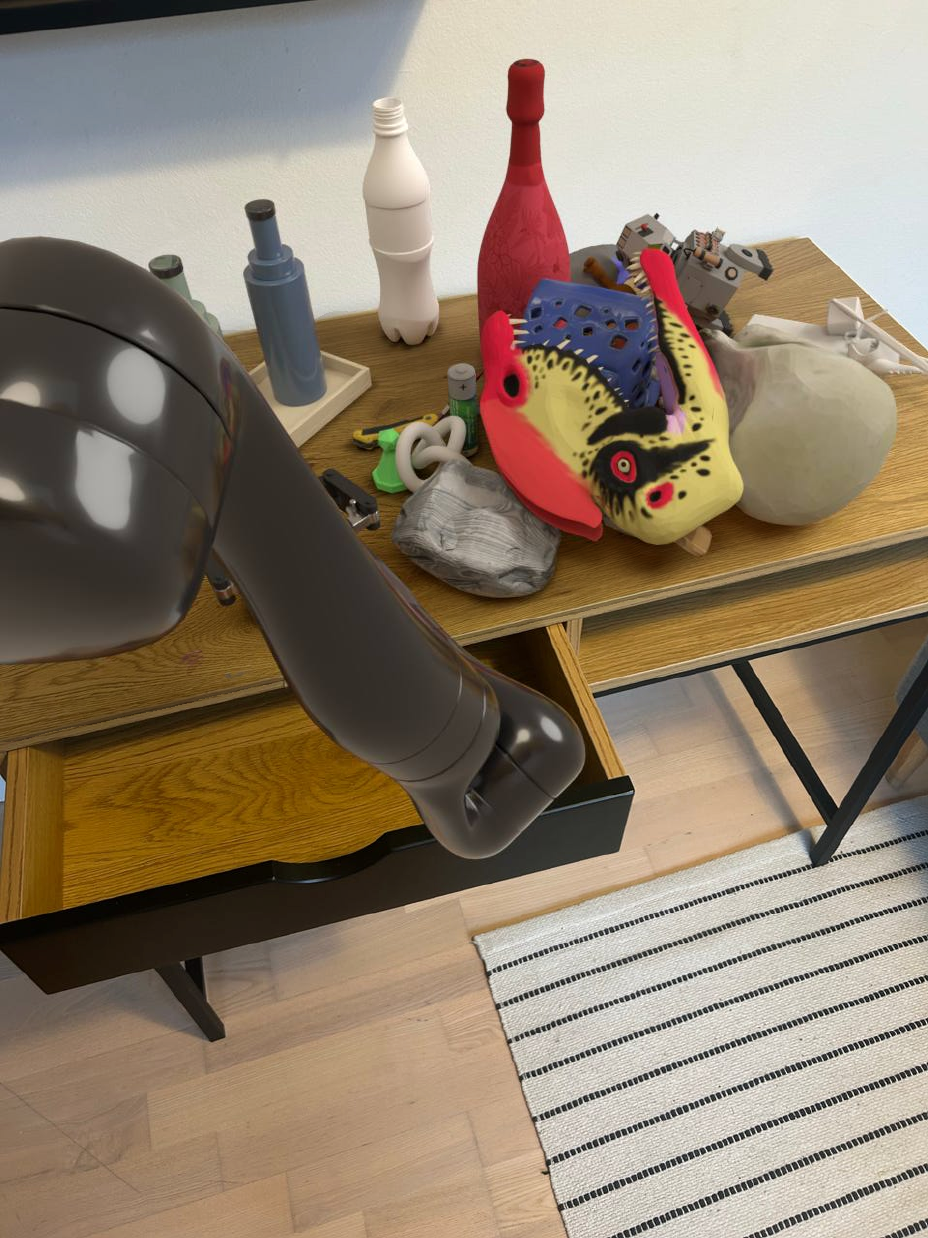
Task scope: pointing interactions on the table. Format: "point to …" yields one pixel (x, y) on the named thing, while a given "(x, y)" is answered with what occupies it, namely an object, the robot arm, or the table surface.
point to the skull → (799, 423)
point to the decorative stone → (476, 533)
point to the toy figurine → (605, 279)
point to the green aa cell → (447, 408)
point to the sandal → (690, 542)
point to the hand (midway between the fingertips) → (239, 482)
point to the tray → (307, 420)
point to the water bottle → (400, 228)
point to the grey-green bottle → (180, 284)
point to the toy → (612, 427)
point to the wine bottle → (521, 212)
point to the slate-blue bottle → (282, 311)
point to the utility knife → (371, 435)
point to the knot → (428, 448)
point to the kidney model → (605, 260)
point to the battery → (464, 403)
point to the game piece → (388, 464)
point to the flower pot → (598, 333)
